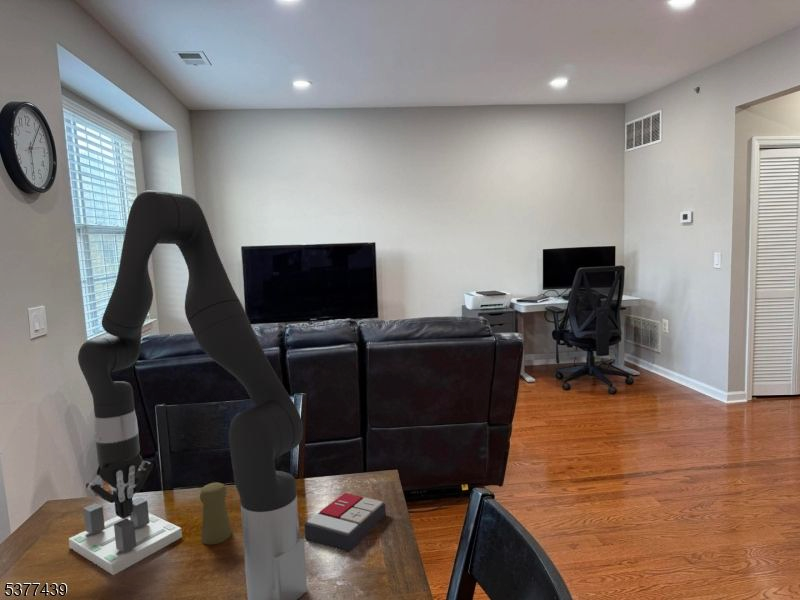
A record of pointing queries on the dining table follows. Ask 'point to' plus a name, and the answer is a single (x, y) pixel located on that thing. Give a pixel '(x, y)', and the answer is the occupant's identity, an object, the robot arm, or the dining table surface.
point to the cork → (214, 514)
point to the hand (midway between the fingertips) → (125, 516)
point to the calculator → (344, 521)
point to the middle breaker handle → (140, 512)
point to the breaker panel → (113, 560)
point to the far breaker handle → (94, 518)
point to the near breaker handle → (125, 535)
